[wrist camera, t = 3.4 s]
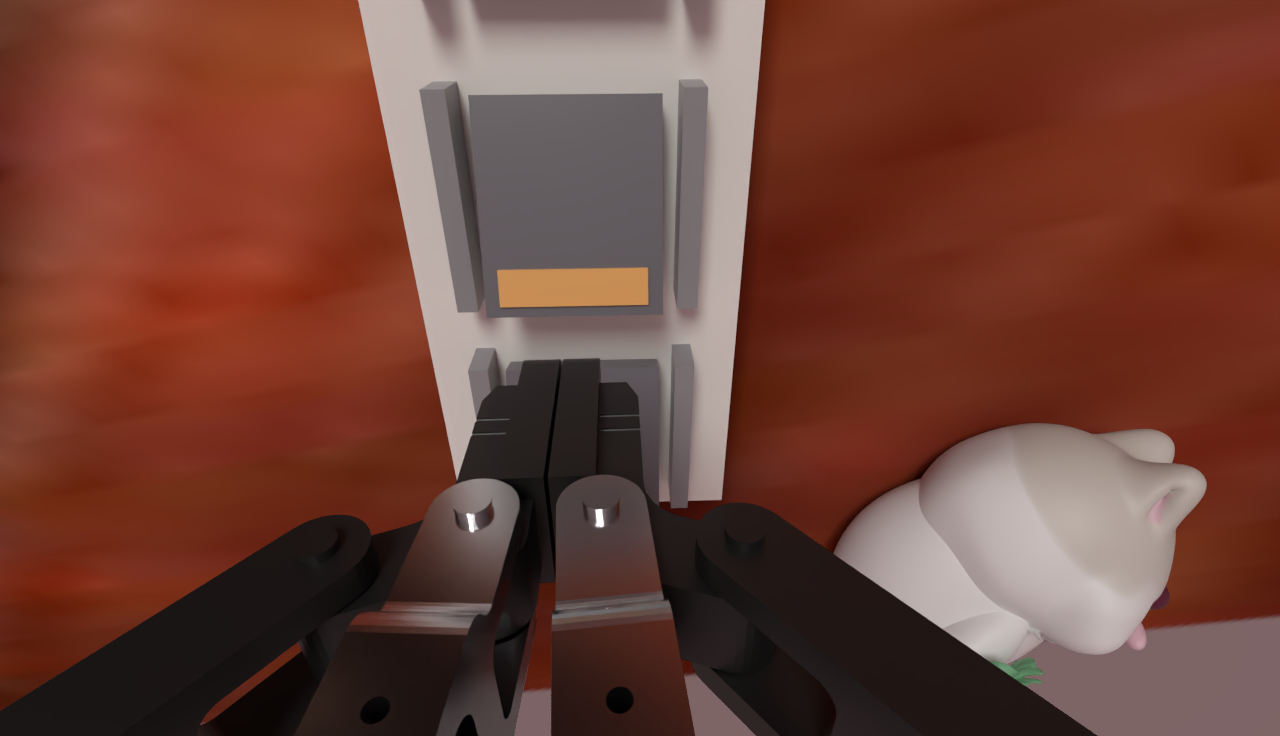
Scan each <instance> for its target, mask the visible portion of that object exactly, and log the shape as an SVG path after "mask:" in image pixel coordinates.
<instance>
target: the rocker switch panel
mask: <svg viewBox="0 0 1280 736" xmlns="http://www.w3.org/2000/svg"><path fill="white" fill-rule="evenodd" d="M358 2H359V6H360V11H361V16H362V21H363V26H364V31H365V36H366V40H367V45H368V50H369V55H370V60H371V65H372V70H373V74H374V79H375V84H376V89H377V94H378V99H379V104H380V108H381V113H382V118H383V123H384V128H385V133H386V138H387V142H388V147H389V152H390V157H391V162H392V167H393V172H394V176H395V181H396V186H397V191H398V196H399V201H400V206H401V210H402V215H403V220H404V225H405V230H406V235H407V240H408V244H409V249H410V254H411V259H412V264H413V269H414V274H415V278H416V283H417V288H418V293H419V298H420V303H421V308H422V312H423V317H424V322H425V327H426V332H427V337H428V342H429V346H430V351H431V356H432V361H433V366H434V371H435V376H436V380H437V385H438V390H439V395H440V400H441V405H442V410H443V414H444V419H445V424H446V429H447V434H448V439H449V444H450V448H451V453H452V458H453V463H454V468H455V473H456V478H457V479H458V475H459V472H460V469H461V466H462V463H463V460H464V456H465V453H466V450H467V447H468V444H469V440H470V437H471V436H472V431H473V428H474V424H475V422H476V421H477V419H476V418H477V415H478V412H479V409H480V405H481V402H482V400H483V399H484V398H485V397H486V396H487V395H488V394H489V393H490V392H491V391H492V390H494V389H495V388H496V387H497V386H506V385H507V383H506V369H507V367H508V365H509V364H510V362H519V361H524V360H551V359H561V361H563V359H584V358H600V360H617V359H657V362H658V367H659V502H662V501H670V505H671V508H687V507H688V501H700V500H722V488H723V477H724V465H725V454H726V443H727V431H728V420H729V408H730V397H731V385H732V374H733V362H734V351H735V340H736V328H737V317H738V305H739V294H740V282H741V271H742V260H743V248H744V237H745V225H746V214H747V202H748V191H749V179H750V168H751V157H752V145H753V134H754V122H755V111H756V99H757V88H758V77H759V65H760V54H761V42H762V31H763V19H764V8H765V0H358ZM647 93H663V315H619V316H564V317H510V318H487V316H486V304H485V292H484V280H483V268H482V256H481V244H480V232H479V220H478V208H477V196H476V184H475V172H474V160H473V148H472V136H471V124H470V112H469V100H468V95H533V94H647Z"/></svg>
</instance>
